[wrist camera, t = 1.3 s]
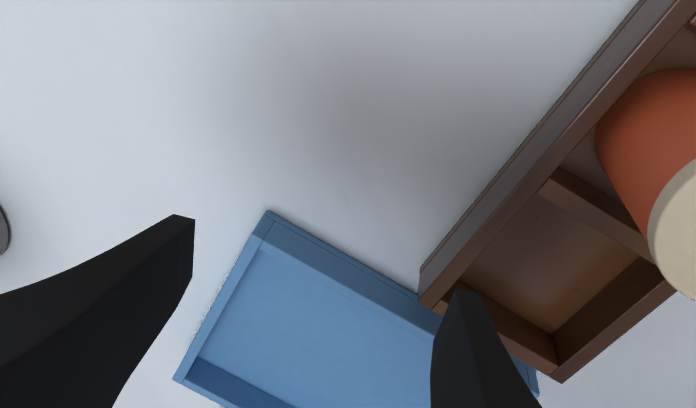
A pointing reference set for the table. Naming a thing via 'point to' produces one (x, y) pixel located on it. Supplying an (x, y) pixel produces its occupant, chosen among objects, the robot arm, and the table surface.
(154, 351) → the table surface
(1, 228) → the travel mug
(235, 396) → the tray
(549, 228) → the compartment box
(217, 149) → the table surface
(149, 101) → the table surface
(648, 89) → the snack tub
